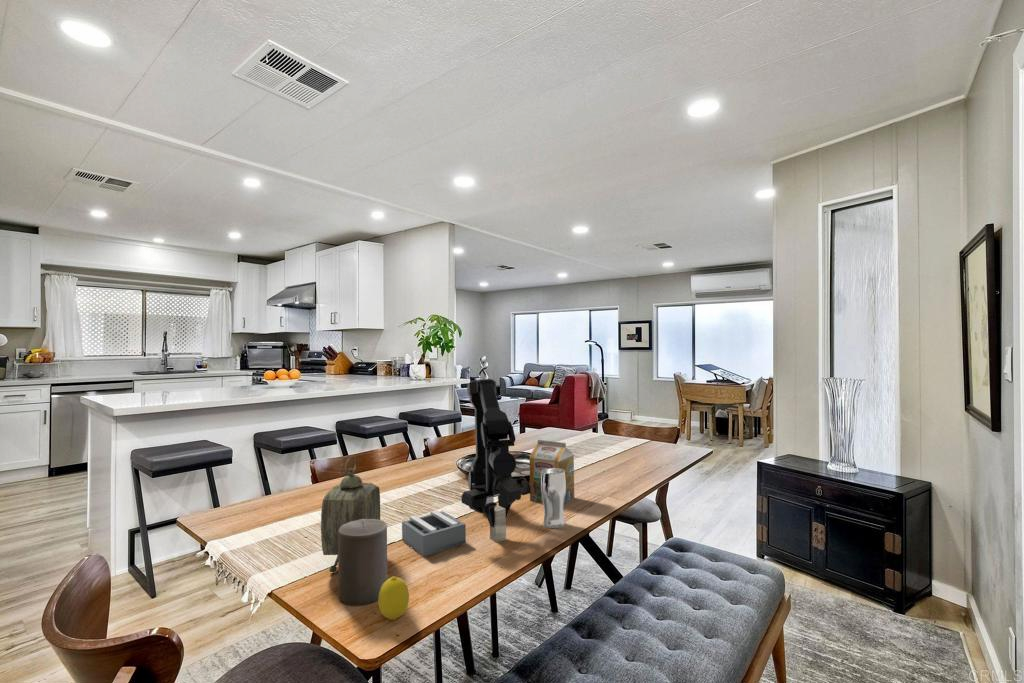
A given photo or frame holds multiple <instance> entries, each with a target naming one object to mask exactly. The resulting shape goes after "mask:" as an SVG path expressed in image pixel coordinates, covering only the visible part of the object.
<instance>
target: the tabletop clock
mask: <svg viewBox="0 0 1024 683" xmlns="http://www.w3.org/2000/svg"><path fill="white" fill-rule="evenodd" d="M351 460H354V467H353V468H352V467H350V468H349V469H348V466H349V463H350V461H351ZM357 466H358V460H357V457H356V456H355V455H350V456H349V457H348V458H347V460H346V462H345V464H344V474H345V475H346V476H344V477H343V478H342V479H341V482H340V483H338V484H336V485H335V486H333V487H332V488H331V489H330V490H329V491H328V492H327V493H326V494H325V495H324V497H323V499H322V502H321V503H322V504H321V513H320V536H321V537H320V538H321V550H322V551H321V552H322V554H323V556H336V559H335V561H334V564H333V565H331V566H330V567H329V570H328V571H330V572H335V571H336V572H337V571H338V570H337V568H338V567H337V566H338V554H339V551H338V549H339V546H338V543H339V529H340V527H341V526H342V525H344V524H346V523H348V522H351V521H356V520H360V519H377V520H381V491H380V487H379V486H378V485H377V484H374V483H372V482H363V480H362V478H361V477H360V476H359V475H356V474H355V472H356V470H357ZM330 572H329V573H330ZM336 572H335V573H336Z"/></svg>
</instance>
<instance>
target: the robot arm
mask: <svg viewBox="0 0 1024 683" xmlns="http://www.w3.org/2000/svg"><path fill="white" fill-rule="evenodd" d="M466 386H467V387H466V388H467V389H466V392H467V396H468V398H469V399H468V400H469V402H470V403H471V405H472V406H473V408H474V427H475V431H474V432H475V433H474V434H475V439H474V440H475V457H474V459H473V461H472V462H471V465H470V470H469V472H468V477H467V487H468V489H469V490H464V491H463V493H462V494H461V503H462V504H463V505H466V506H468V507H469V508H470V509H472V510H475V511H476V512H478V513H482V512H483V514H484V515H485V517H486V519H487V521H488V523H489V527H490V526H491V527H494V524H495V513H494V508H495V507H496V506H501V507H503V508H505V509H506V519H507V518H508V515H509V512H510V509H511V506H512V505H513V504H514V502H515V501H520V500H522V496H525V495H530V493H531V486H530V482H528V480H527V479H526V478H525V477H518V478H513V476H512V474H513V473H514V472H515V470H516V467H517V461H516V458H515V456H514V455H513V454H512V453H511V452H510V450H509V449H510V448H509V447H514V446H515V442H516V435H515V430H514V426H513V425H512V422H511V421H509V417H508V415H507V413H506V412H504V411H502V410H501V408H500V404H499V401H498V396H497V382H496V381H495V380H494V379H492V378H479V379H476V380H471V381H470V382H469V383H467V385H466ZM496 497H497V502H494V498H496Z"/></svg>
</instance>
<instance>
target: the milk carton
mask: <svg viewBox="0 0 1024 683" xmlns="http://www.w3.org/2000/svg"><path fill="white" fill-rule="evenodd" d="M574 458H575V457H574V453H573V451H571V450H570V449H569V448H568V447H567V443H566V442H561V441H554V440H548V439H547V440H545V439H537V444H536V445H535V447H534V448H533V450H532V451H531V454H530V456H529V459H528V460H529V484H530V486H531V493H530V494H529V500H530V501H529V502H532V501H533V502H534V503H537V502H538V503H537V504H542V503H543V499H542V492H541V475H542V470H543V469H547V468H559V469H563V470H564V471H565V480H566V493H565V501H564V503H565V502H566V503H568V502H570V501H571V500H573V499H575V463H574V462H575V459H574ZM572 498H573V499H572ZM570 499H571V500H570ZM569 500H570V501H569ZM567 501H568V502H567ZM566 503H565V504H566Z"/></svg>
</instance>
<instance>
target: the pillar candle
mask: <svg viewBox="0 0 1024 683" xmlns="http://www.w3.org/2000/svg"><path fill="white" fill-rule="evenodd" d="M388 526H389V525H388V522H385V521H384V520H381V519H380V520H377V519H360V520H356V521H351V522H348V523H346V524H344V525H342V526H341V527H340V529H339V543H338V546H339V549H338V551H339V554H338V555H337V556H338V564H337V566H338V567H337V568H338V570H337V571H338V573H337V574H338V576H337V577H338V596H339V598H338V600H339V599H340V600H339V602H341V603H342V604H345V605H347V606H354V607H355V606H356V607H357V606H364V605H368V604H372V603H375V602H377V601H378V598H379V592H380V589H381V586H382V585H383V583H384V582H385V581H386V580H388Z"/></svg>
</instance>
